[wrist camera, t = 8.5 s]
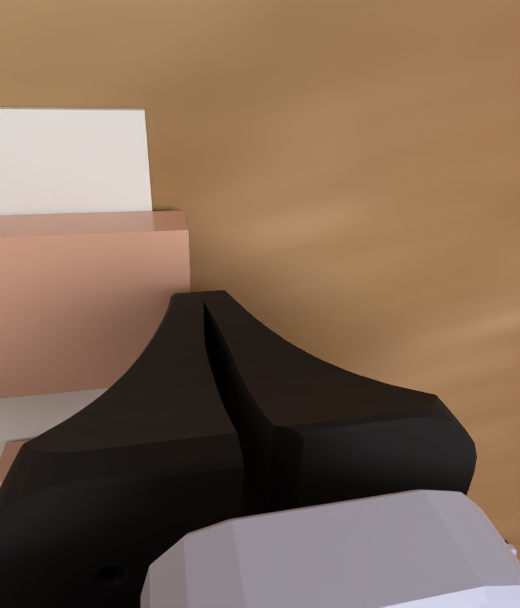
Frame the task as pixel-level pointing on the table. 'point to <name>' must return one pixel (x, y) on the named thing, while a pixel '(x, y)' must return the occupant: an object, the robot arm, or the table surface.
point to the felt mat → (67, 205)
